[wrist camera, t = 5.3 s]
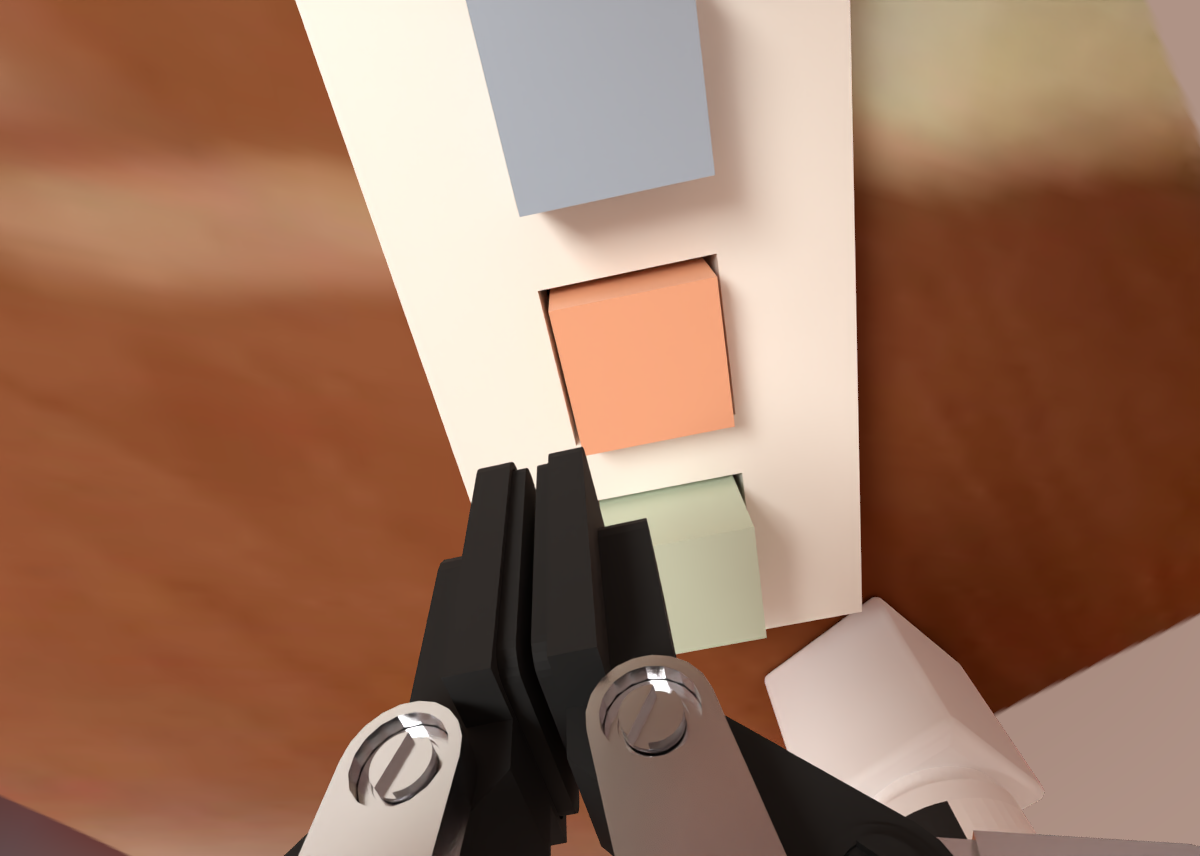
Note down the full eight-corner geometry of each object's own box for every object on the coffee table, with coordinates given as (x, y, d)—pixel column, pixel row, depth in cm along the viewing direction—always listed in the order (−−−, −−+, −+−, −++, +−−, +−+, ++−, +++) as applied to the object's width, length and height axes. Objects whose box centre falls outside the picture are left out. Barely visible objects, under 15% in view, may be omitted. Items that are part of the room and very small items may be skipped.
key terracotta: (551, 276, 23) (548, 311, 20) (693, 246, 23) (716, 276, 19) (581, 403, 25) (583, 456, 22) (711, 377, 25) (734, 426, 22)
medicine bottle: (847, 736, 36) (967, 1016, 25) (759, 675, 33) (850, 956, 23) (960, 661, 33) (1144, 933, 23) (874, 590, 31) (1036, 857, 20)
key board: (309, -57, 19) (267, -79, 16) (804, -176, 18) (846, -220, 15) (533, 620, 31) (529, 671, 28) (836, 564, 30) (862, 611, 27)
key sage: (598, 489, 26) (603, 555, 22) (727, 464, 25) (754, 527, 22) (622, 587, 28) (629, 662, 24) (740, 566, 28) (766, 637, 24)
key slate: (482, 4, 18) (462, -14, 15) (663, -38, 18) (687, -67, 14) (527, 193, 20) (519, 217, 17) (688, 158, 20) (715, 175, 17)
